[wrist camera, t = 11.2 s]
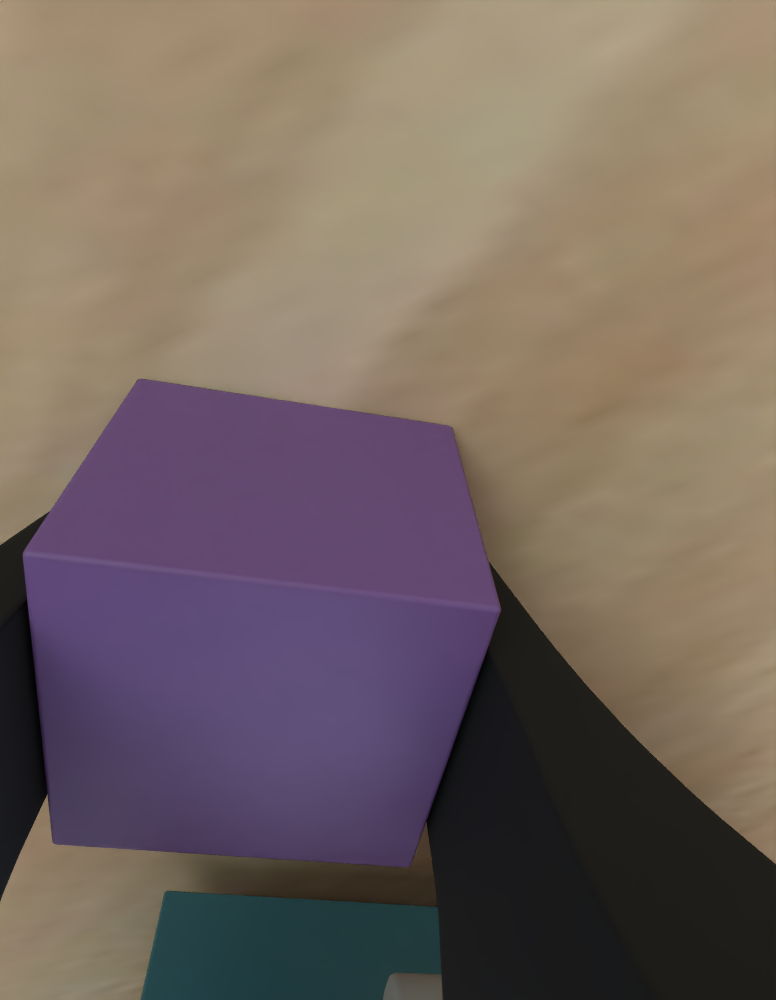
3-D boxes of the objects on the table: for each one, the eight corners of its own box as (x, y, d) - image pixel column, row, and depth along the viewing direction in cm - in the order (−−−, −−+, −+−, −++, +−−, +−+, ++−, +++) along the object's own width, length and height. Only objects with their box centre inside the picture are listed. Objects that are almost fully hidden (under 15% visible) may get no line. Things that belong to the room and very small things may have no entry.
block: (137, 619, 12) (50, 847, 8) (137, 376, 10) (19, 551, 6) (394, 647, 12) (410, 869, 9) (452, 424, 10) (504, 608, 7)
